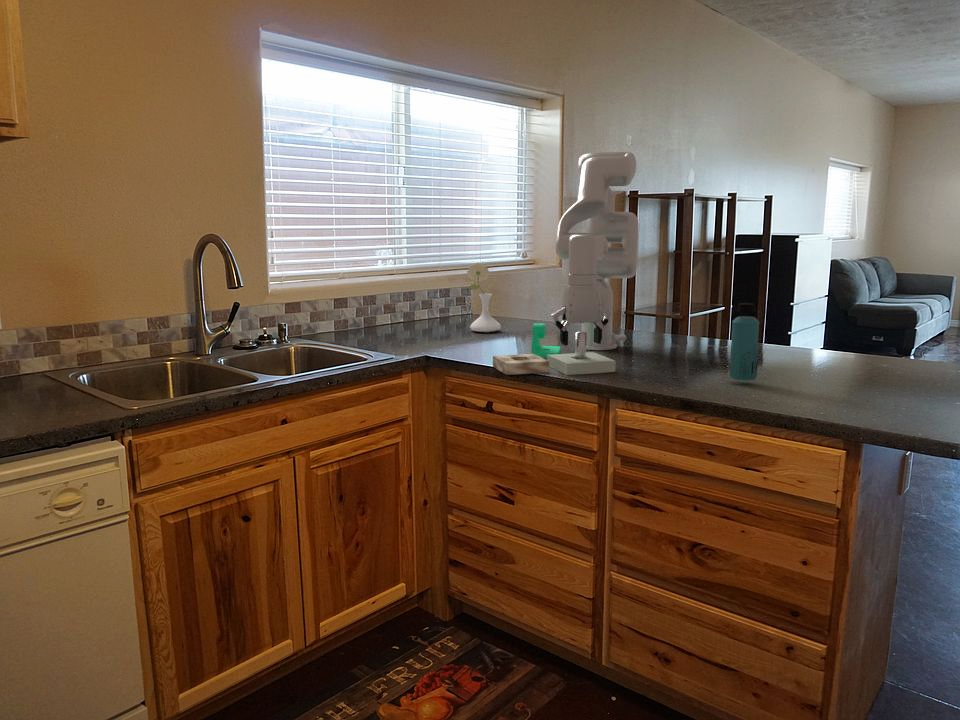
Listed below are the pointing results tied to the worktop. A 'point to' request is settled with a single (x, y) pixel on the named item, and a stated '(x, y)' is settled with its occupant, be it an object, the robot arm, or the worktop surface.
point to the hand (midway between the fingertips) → (580, 343)
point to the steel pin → (580, 345)
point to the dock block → (581, 363)
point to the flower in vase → (485, 320)
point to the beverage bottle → (744, 344)
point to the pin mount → (520, 364)
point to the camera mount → (537, 349)
